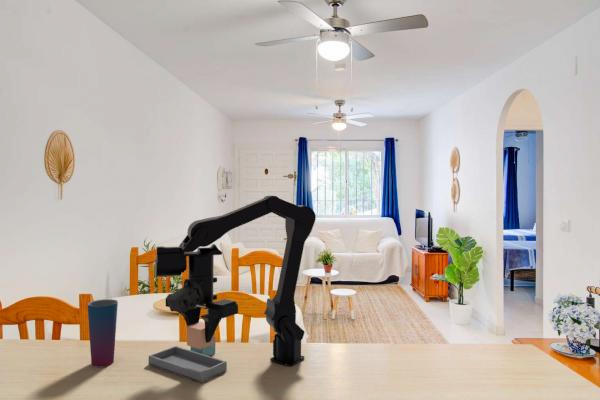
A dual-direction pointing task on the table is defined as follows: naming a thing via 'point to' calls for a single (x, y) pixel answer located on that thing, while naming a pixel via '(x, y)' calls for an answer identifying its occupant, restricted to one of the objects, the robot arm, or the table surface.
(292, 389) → the table surface
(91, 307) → the cup
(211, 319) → the robot arm
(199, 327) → the terracotta block
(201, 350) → the teal block
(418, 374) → the table surface
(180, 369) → the tray
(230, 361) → the table surface
